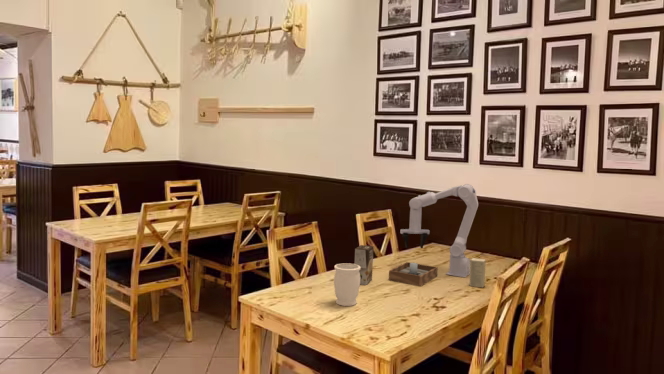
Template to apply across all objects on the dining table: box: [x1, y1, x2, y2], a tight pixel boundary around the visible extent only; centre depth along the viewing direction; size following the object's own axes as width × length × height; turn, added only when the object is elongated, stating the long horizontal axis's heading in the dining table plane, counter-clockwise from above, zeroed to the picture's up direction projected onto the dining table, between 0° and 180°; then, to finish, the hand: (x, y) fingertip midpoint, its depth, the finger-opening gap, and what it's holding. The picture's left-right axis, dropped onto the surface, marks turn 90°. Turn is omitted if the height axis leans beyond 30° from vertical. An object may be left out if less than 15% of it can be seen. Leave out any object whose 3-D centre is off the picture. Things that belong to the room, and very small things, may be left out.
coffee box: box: [353, 244, 374, 286], centre depth 242 cm, size 9×6×16 cm
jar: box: [333, 262, 361, 307], centre depth 212 cm, size 11×10×15 cm
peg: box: [409, 262, 419, 275], centre depth 251 cm, size 4×4×7 cm
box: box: [388, 261, 439, 287], centre depth 251 cm, size 20×16×4 cm
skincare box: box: [469, 257, 486, 288], centre depth 242 cm, size 6×4×12 cm
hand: (414, 247), depth 269 cm, fingers open, 7 cm apart
